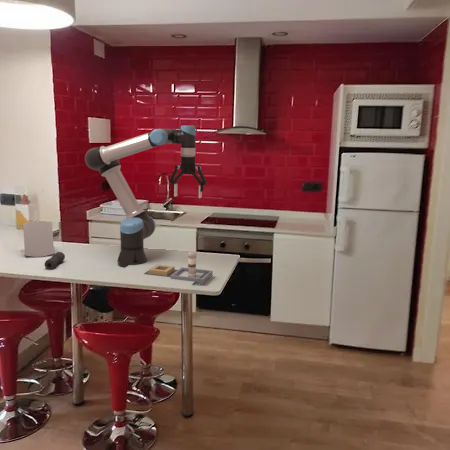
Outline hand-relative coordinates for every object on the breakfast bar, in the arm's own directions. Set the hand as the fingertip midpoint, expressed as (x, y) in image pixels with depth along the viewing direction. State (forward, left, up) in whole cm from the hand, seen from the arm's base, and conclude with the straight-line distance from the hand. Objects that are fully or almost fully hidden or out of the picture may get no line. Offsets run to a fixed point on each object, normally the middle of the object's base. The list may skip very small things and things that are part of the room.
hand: (187, 197), depth 245 cm
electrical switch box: (-82, -15, -35) cm, 90 cm away
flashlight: (-60, -31, -35) cm, 77 cm away
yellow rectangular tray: (-3, -27, -35) cm, 44 cm away
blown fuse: (+13, -28, -34) cm, 46 cm away
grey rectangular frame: (+13, -28, -35) cm, 46 cm away
